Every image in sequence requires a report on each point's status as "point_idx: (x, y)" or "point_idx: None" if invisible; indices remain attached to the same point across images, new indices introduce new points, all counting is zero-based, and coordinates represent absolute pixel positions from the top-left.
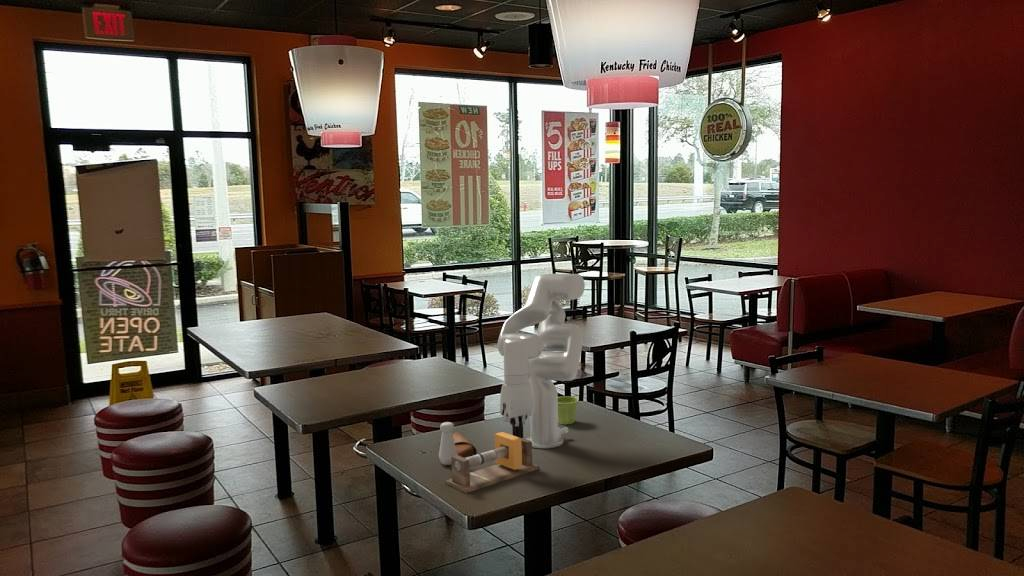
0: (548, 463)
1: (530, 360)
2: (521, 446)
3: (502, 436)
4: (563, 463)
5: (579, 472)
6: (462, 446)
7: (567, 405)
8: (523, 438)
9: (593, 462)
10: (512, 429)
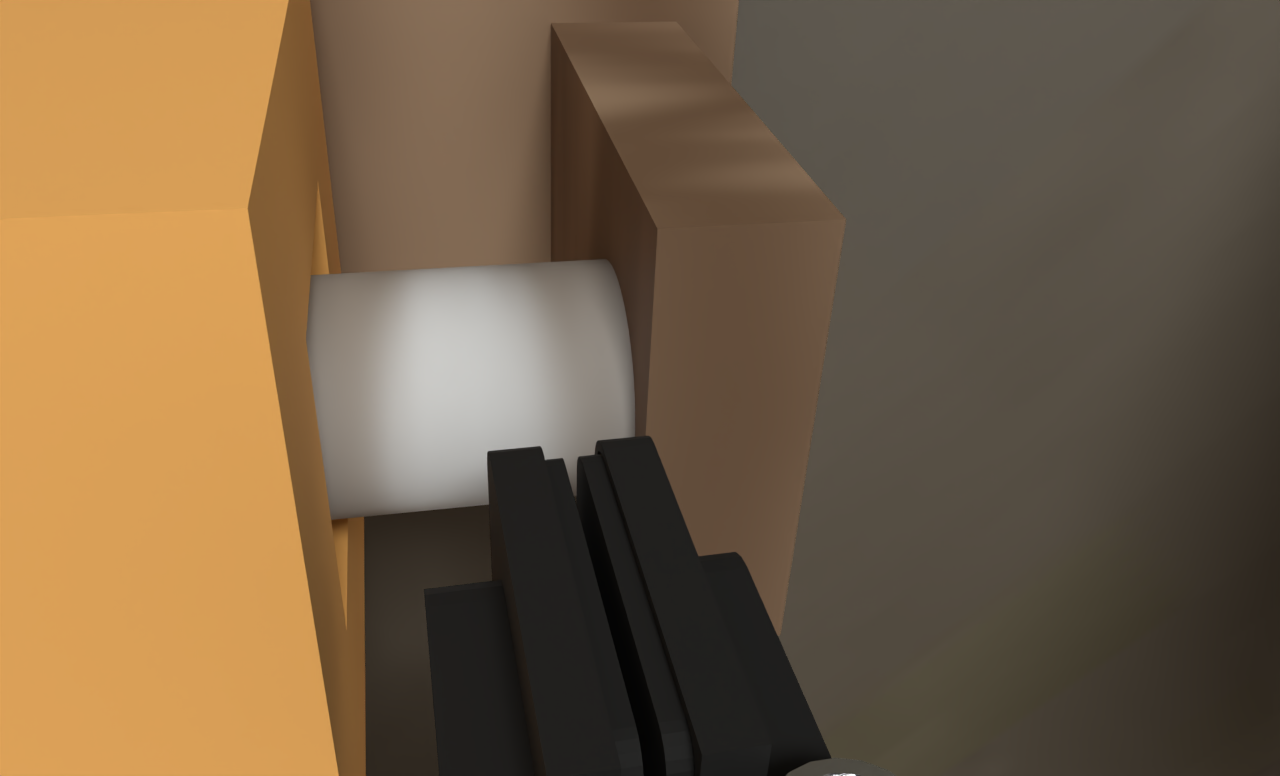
0: (937, 319)
1: None
2: (365, 763)
3: None
4: (1043, 434)
5: (893, 710)
6: None
7: None
8: (807, 403)
9: (1231, 588)
10: (436, 726)
